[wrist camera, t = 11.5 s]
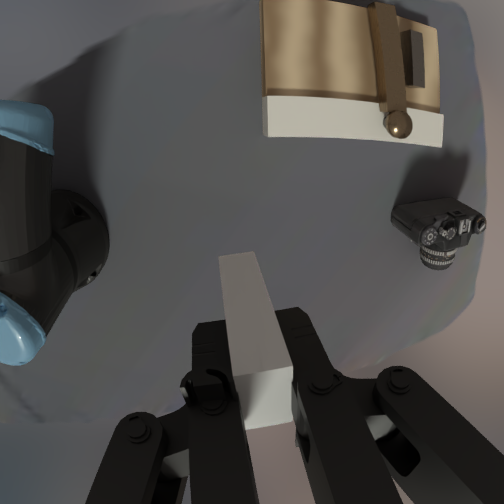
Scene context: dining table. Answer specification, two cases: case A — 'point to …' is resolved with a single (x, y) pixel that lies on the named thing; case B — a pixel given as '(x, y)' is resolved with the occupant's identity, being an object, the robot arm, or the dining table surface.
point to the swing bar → (390, 69)
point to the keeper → (413, 58)
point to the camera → (438, 228)
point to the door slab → (333, 53)
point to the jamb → (343, 120)
